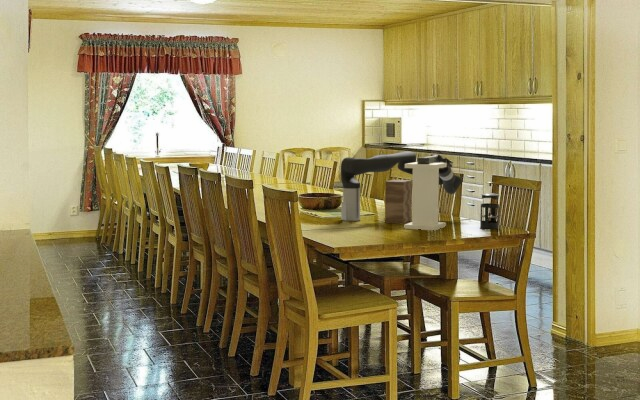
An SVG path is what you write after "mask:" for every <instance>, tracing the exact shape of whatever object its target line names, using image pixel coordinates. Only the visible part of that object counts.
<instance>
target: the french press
mask: <svg viewBox="0 0 640 400" xmlns="http://www.w3.org/2000/svg"><path fill="white" fill-rule="evenodd" d="M485 183H486V184H488V186H489V192H486V193H481V194H480V195H481V199H493V200H499V196H500V194H499V193H491V191H492V190H491V187H492V184H495V181H487V182H485ZM483 209H484V214H483ZM496 211H497V212H496ZM499 215H500V204H499V203H493V202H492V203H491V202H489V203H488V202H486V203H480V223H479V224H480V226H479V229H480V230H485V229H496V230H499V229H500V216H499ZM483 218H484V220H483ZM489 219H490V220H489ZM498 228H499V229H498Z"/></svg>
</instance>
